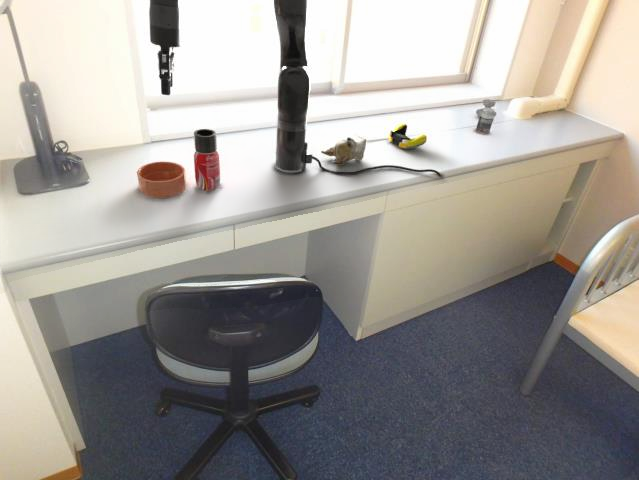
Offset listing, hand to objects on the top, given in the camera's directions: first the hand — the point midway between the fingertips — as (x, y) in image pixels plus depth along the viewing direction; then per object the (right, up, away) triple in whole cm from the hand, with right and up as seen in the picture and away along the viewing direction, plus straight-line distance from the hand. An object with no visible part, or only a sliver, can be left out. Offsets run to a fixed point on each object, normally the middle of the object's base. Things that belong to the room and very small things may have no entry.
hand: (167, 90), depth 118 cm
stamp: (+118, +17, +88) cm, 148 cm away
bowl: (-4, -25, +10) cm, 27 cm away
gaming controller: (+74, -3, +54) cm, 92 cm away
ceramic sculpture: (+50, -12, +37) cm, 63 cm away
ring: (+9, -14, +6) cm, 18 cm away
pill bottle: (+111, +7, +73) cm, 134 cm away
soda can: (+8, -24, +13) cm, 29 cm away
